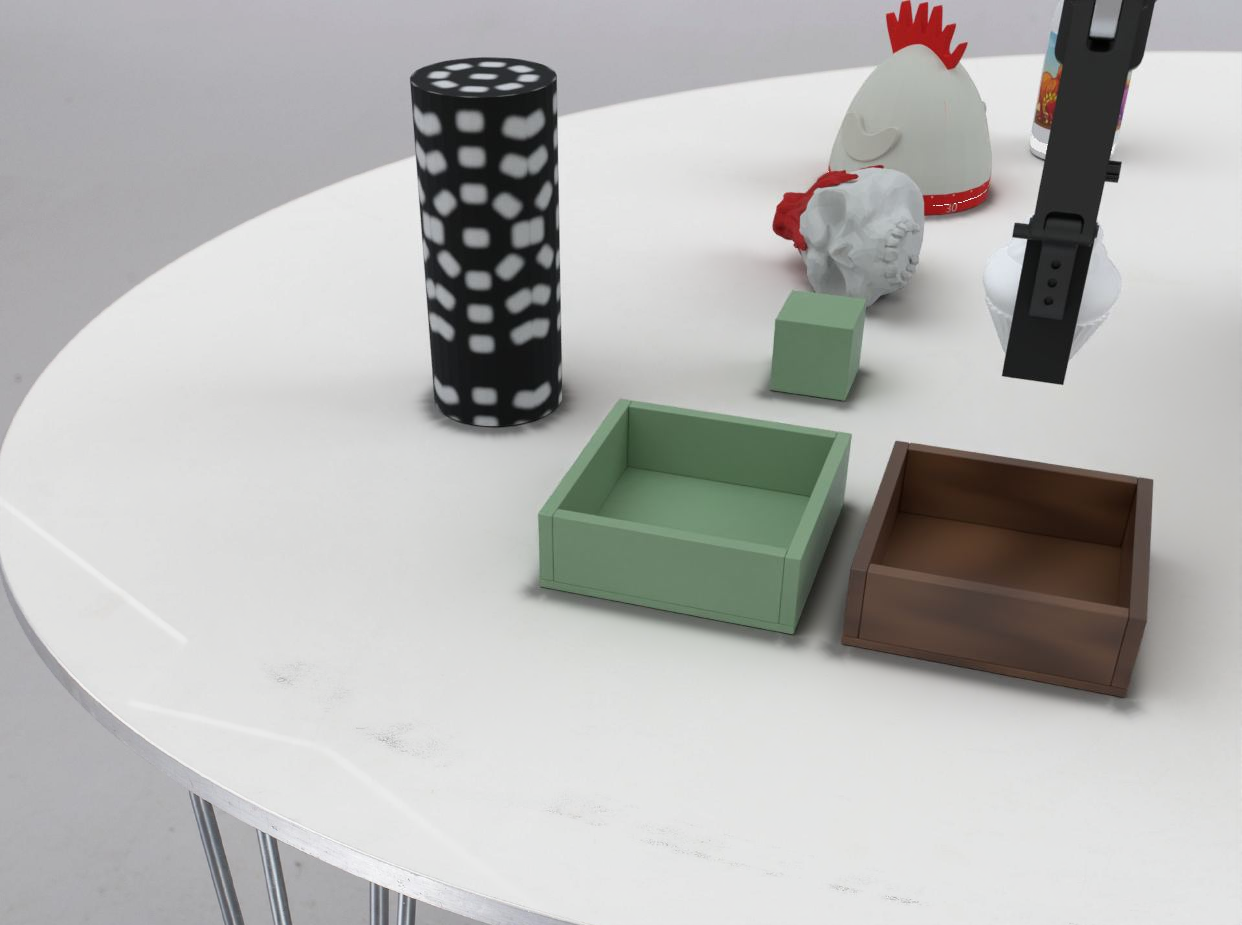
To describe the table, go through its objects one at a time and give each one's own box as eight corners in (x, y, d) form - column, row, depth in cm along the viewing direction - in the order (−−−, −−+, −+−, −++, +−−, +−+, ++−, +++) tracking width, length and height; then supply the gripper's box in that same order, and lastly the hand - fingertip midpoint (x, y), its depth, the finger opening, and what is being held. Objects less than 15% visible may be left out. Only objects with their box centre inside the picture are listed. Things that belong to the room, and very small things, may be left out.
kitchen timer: (900, 151, 133) (922, -23, 124) (1020, 190, 125) (1053, 6, 116) (794, 183, 126) (809, 1, 117) (914, 227, 118) (940, 34, 109)
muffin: (1131, 356, 67) (1168, 208, 63) (1052, 393, 64) (1084, 240, 60) (1023, 314, 71) (1051, 172, 67) (942, 347, 68) (966, 200, 63)
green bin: (843, 503, 82) (852, 433, 80) (793, 635, 72) (800, 559, 69) (618, 466, 86) (619, 397, 83) (539, 586, 75) (537, 513, 73)
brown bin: (1134, 550, 78) (1153, 478, 75) (1125, 698, 68) (1147, 620, 65) (885, 509, 82) (895, 439, 79) (840, 643, 71) (850, 568, 69)
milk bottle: (1014, 143, 135) (1054, -92, 123) (1090, 138, 136) (1137, -95, 125) (1049, 169, 129) (1095, -75, 117) (1128, 164, 130) (1182, -78, 118)
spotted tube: (421, 422, 90) (393, 94, 78) (449, 365, 97) (428, 55, 85) (551, 430, 89) (543, 100, 77) (571, 372, 96) (567, 59, 84)
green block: (859, 369, 96) (867, 298, 93) (845, 401, 93) (853, 329, 90) (786, 359, 98) (791, 289, 95) (769, 390, 94) (775, 318, 91)
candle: (890, 328, 100) (727, 294, 110) (979, 282, 107) (818, 253, 116) (892, 198, 96) (721, 174, 105) (985, 158, 102) (816, 139, 111)
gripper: (1069, -253, 62) (982, 264, 75) (1029, -206, 47) (929, 424, 61) (1255, -248, 60) (1130, 282, 73) (1273, -196, 45) (1113, 452, 59)
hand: (1039, 345), depth 67 cm, fingers closed on muffin, 6 cm apart
